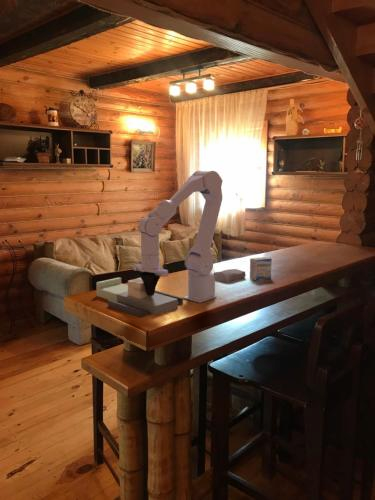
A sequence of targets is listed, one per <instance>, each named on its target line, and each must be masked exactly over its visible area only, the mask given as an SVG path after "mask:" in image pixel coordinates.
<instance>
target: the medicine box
mask: <svg viewBox="0 0 375 500" xmlns="http://www.w3.org/2000/svg"><path fill="white" fill-rule="evenodd" d="M272 260H273V259H272V258H271V257H266V256H264V257H262V256H261V257H253V258H250V259H249V279H250V280H253V281H263V280H270V279H271V278H272V265H273V264H272V263H273V262H272Z"/></svg>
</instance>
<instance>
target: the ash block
mask: <svg viewBox="0 0 375 500" xmlns="http://www.w3.org/2000/svg"><path fill="white" fill-rule="evenodd" d="M127 285H128V295H129V296H133V297H136V298H139V299H141V298H144V297H148V296H149V295H147V292H146V289H145V285H144V283H143V281H142V279H141V277H137V278H134V279H130V280H127Z"/></svg>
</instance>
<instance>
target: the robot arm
mask: <svg viewBox="0 0 375 500" xmlns="http://www.w3.org/2000/svg"><path fill="white" fill-rule="evenodd" d="M222 185H223V179H222V177H221V176H220V174H219V172H217V171H215V170H207V171H206V170H205V171H204V170H196V171H194V172H193V174H192V175H190V176H189V177H188V178H187V180H186V181H185V182H184V183H183V185H182V186H180V188H179V189H177V191H176V192H175V193H174V194H173V195H172V197H170V198H169V200H168V199H163V200H160V201H158V203H157V206H156V207H154V209H153V210H152V211H149V212H148V213H147V216H146V215H145V216H143V217H142V218H141V219H140V220H139V222H138V225H137V229H138V231H139V233H140V255H141V256H140V257H141V260H140V262H141V263H135V264H134V263H133V271H135V272H136V271H139V272H142V273H140V274H139V278H141V279H142V281H143V283H144V285H145V289H146V292H147V295H149V296H151V295H154V293H155V290H156V288H157V286H158V282H159V280H160V279H161V277H162V278H167V277H169V270H168V269H165V268H162V267H161V266H160V233H162V231H163V226H164V225H165V224H166V223H167V222H169V220H171V218H172V217H173V216H175V214H177V207H179V206H180V205H181V204H182V203H184V201H185V200H187V199H188V198H189V197H190V196H192V194H194V193H197V192H199V193H200V194H201V195H202V197H203V199H204V201H205V202H204V205H203V210H202V214H201V218H200V222H199V226H198V231H197V234H196V239H195V243H194V245H193V246H192V247H190V249H189V252H188V253H187V254H186V256H185V259H184V267H185V268H186V269H187V273H188V275H187V276H188V280H187V281H188V282H187V285H188V287H187V289H188V290H187V291H188V293H187V295H185V296H182V298H183V300H184V299H185V300H187V301H188V300H189V301H191V302H194V303H195V302H196V303H199V304H200V303H203V302H206V301H209V300H212V299H215V298H217V295H216V280H215V278H214V275H213V274H214V273H212V271H213V268H214V263H213V261H214V260H213V259H214V253H213V252H212V249H211V247H212V244H213V237H214V235H215V230H216V226H217V223H218V217H219V214H220V210H221V206H222V202H223V192H222Z"/></svg>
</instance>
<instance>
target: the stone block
mask: <svg viewBox="0 0 375 500" xmlns="http://www.w3.org/2000/svg"><path fill="white" fill-rule="evenodd" d="M212 274H213V275H214V278H215V282H216V281H218V282H222V283H227V284H230V283H234V282H237V281H241V280H244V279H245V278H246V271H244V270H241V269H238V268H231V269H230V268H229V269H225V270H221V271H214V272H213V273H212Z"/></svg>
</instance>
